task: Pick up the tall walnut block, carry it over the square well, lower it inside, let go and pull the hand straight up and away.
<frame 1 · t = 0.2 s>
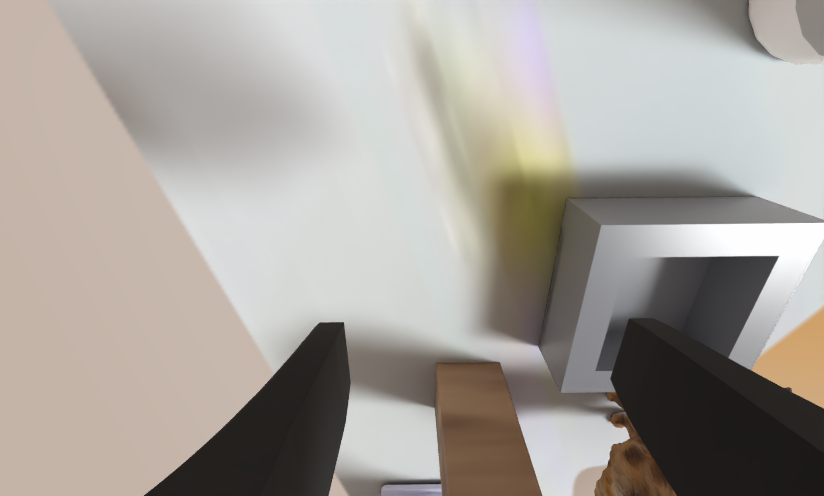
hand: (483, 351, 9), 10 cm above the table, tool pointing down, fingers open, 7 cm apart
walnut block: (466, 386, 23), on the table
lion figurine: (655, 403, 25), on the table
square well: (636, 279, 20), on the table
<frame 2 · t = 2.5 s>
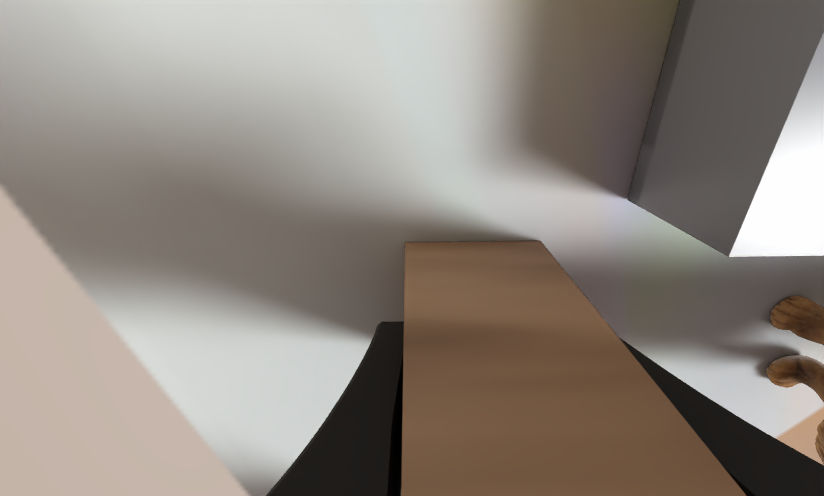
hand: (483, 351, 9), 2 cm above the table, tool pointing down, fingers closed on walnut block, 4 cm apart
walnut block: (468, 298, 11), on the table, touching gripper
when the fingers open (4 cm above the table, at t = 7.2 s): walnut block drops 1 cm, resting on square well.
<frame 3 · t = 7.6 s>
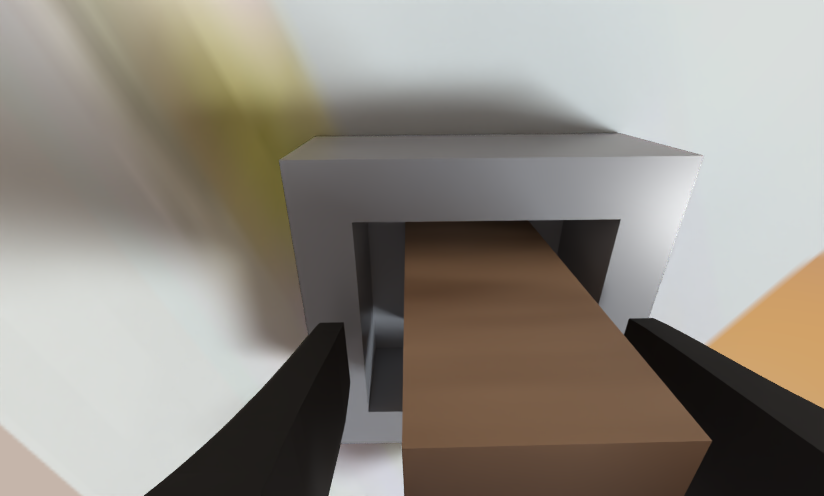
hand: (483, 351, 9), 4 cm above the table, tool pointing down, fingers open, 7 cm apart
walnut block: (463, 272, 13), resting on square well
square well: (460, 268, 13), on the table
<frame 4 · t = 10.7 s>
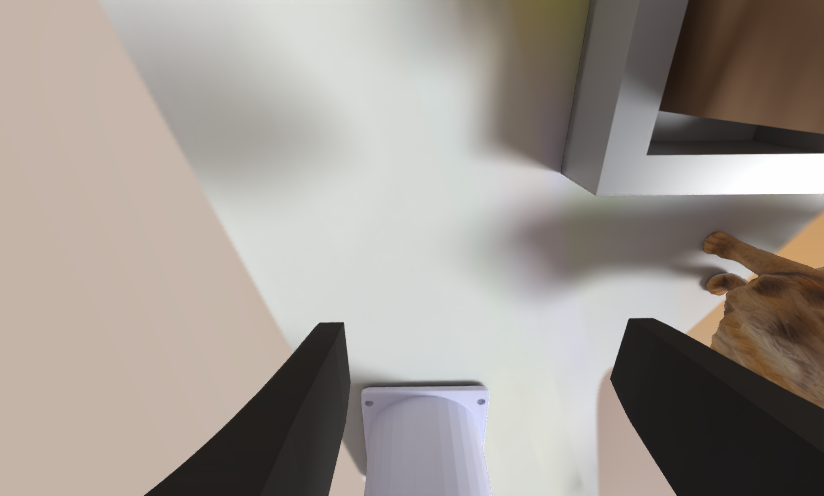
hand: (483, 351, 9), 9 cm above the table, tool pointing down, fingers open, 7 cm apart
walnut block: (706, 53, 14), resting on square well
lion figurine: (764, 260, 19), on the table
square well: (695, 57, 15), on the table
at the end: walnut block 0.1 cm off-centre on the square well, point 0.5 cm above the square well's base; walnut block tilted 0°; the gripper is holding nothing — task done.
